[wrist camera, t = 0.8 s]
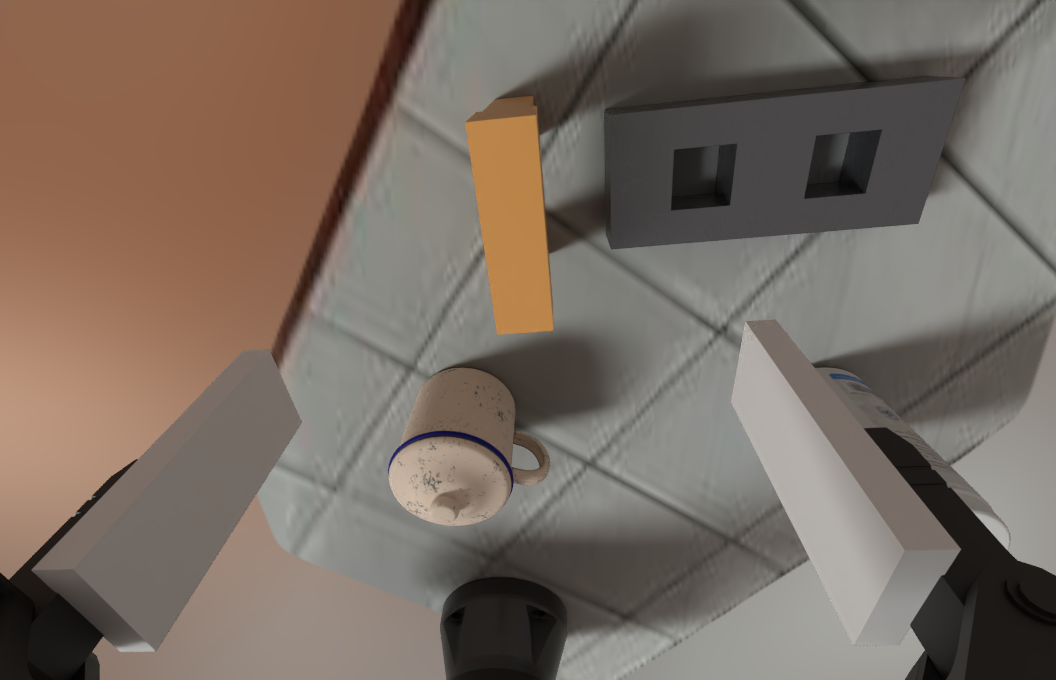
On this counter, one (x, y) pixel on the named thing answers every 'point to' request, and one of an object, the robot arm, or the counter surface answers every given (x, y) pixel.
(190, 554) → the robot arm
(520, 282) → the orange clip
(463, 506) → the teacup with lid
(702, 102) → the graphite rail
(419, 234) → the counter surface
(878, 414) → the supplement tub
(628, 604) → the counter surface
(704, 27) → the counter surface
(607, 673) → the counter surface
